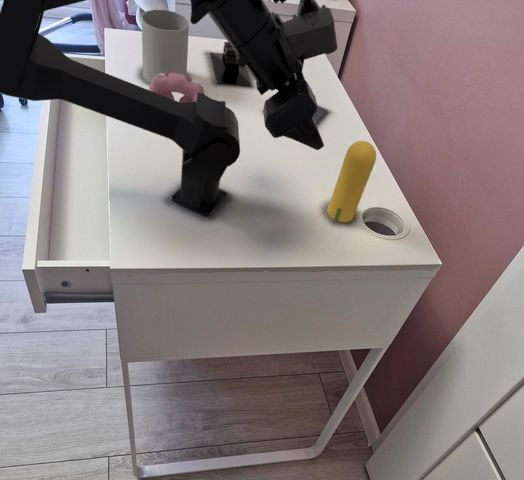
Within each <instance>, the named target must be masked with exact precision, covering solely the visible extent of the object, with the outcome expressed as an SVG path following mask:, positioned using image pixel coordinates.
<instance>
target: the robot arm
mask: <svg viewBox="0 0 524 480" xmlns="http://www.w3.org/2000/svg"><path fill="white" fill-rule="evenodd" d="M86 1H87V0H3V2H2V5H1V8H0V94H1V95H4V96H8V97H11V98H16V99H22V100H25V101H26V100H27V101H30V102H31V101H32V102H39V101H55V100H56V101H57V100H58V101H59V100H60V101H64V102H67V103H69V104H73V105H75V106H78V107H81V108H83V109H86V110H89V111H92V112H95V113H97V114H101V115H102V116H105V117H108V118H111V119H113V120H116V121H119V122H122V123H125V124H128V125H130V126H133V127H135V128H138V129H142V130H144V131H147V132H150V133H152V134H155V135H158V136H160V137H163V138H166V139H168V140H171V141H172V142H173V143H175V144H176V145H177V146H178V147H179V148H180V149H181V150H182V154H181V174H180V175H181V176H180V177H181V178H180V188H179V189H178V190H177V191H175V193H174V194H172V195H171V201H172V202H174V203H175V204H178V205H180V206H183V207H185V208H187V209H189V210H191V211H194V212H196V213H197V214H200V215H201V216H204V217H209V216H210V215H211V214H212V213H213V212H214V211H215V210H216V209H217V208H218V207H219V206H220V204H221V203H222V202H223V201H224V200H225V199H226V198H227V197H228V192H226V191H225V190H222V189H220V185H221V178H222V177H223V175H224V174H225V171H226V170H227V169H228V168H229V167H230V166H232V165H234V164H235V163H236V161H237V160H238V159H239V157H240V154H241V145H240V144H241V143H240V131H239V130H240V129H239V128H240V127H239V121H238V117H237V116H236V114H235V112H234V111H233V110H232V109H231V108H229V107H227V104H226V103H227V102H226V101H225V100H216V99H214V98H211V97H210V96H208V95H206V94H205V93H204V94H203V93H199V92H198V93H197V97H196V102H185V103H182V102H179V101H177V100H172V99H170V98H167V97H165V96H162V95H160V94H157V93H155V92H152V91H150V90H149V89H147V88H144V87H142V86H139V85H137V84H134V83H131V82H129V81H127V80H124V79H122V78H119V77H116V76H115V75H111V74H109V73H106V72H104V71H101V70H99V69H98V68H97V69H96V68H94V67H91V66H89V65H87V64H84V63H82V62H78V61H77V60H74V59H71V58H70V57H68V56H67V55H66V54H65V53H64V52H62V50H60V48H59V47H57V46H56V45H55V44H54V43H53V42H52V41H51V40H50V39H48V38H47V37H45V36H44V35H42V34H40V33H39V32H40V29H41V25H42V23H43V19H44V14H45V12H46V11H50V10H55V9H59V8H62V7H66V6H71V5H74V4H77V3H82V2H86ZM271 1H273V2H274V3H275V4H277V3H279V2H280V4H284V3H286V1H288V0H268V2H271ZM207 15H209V17H210V19H211V20H212V21H213V23H214V24H215V25H216V27H217V28H218V30H219V31H220V33H221V34H222V35H223V37H224V38H225V39H226V42H229V44H230V45H231V46H232V48H233V49H234V51H235V52H236V58H237V62H238V63H239V65H240V66H241V68H243V67H244V66H246V69H247V71H248V72H249V73H250V74H251V76H252V77H253V79H254V81H255V84H256V90H257V91H258V92H259V94H260V95H261V96H263V95H264V94H265V93H267V92H268V91H271V92H273V91H275V90H276V91H277V92H276V93H274V94H273V95H271V96H270V97H269V98H267V99H266V100H264V104H263V110H262V114H263V121H264V127H265V129H266V130H267V131H268V132H269V134H270V136H272V137H273V139H278V138H281V137H284V138H287V139H290V140H293V141H295V142H298V143H300V144H302V145H304V146H306V147H309V148H311V149H314V150H316V151H319V150H321V149H323V148H324V146H325V143H324V141H323V138H322V136H321V133H320V131H319V128H318V126H317V124H316V123H315V121H314V118H313V115H314V114H315V113H316V111H317V108H318V107H317V106H318V102H317V99H316V98H317V97H316V95H315V94H314V92H313V89H312V87H311V86H310V84H309V83H308V81H307V80H306V79H305V76H304V73H303V70H304V69H303V68H304V64H305V60H309V59H312V58H315V57H318V56H321V55H331V54H333V53H335V52H336V51H337V50H338V41H337V33H336V27H335V19H334V16H333V13H332V11H331V8H330V7H327V6H326V4H322V5H321V7H320V5H319V4H318V2H317V1H316V0H299V3H298V7H297V10H296V14H292V18H291V19H289V20H288V19H287V20H286V21H283V20H282V18H281V17H280V15H279V13H275V11H272V12H271V11H270V9H269V8H268V6H267V4H266V2H265V1H264V0H190V19H189V20H190V23H191V24H192V25H197V24H198V23H199V22H200V21H201V20H202V19H203V18H205V17H206V16H207Z"/></svg>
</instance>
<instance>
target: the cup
mask: <svg viewBox="0 0 524 480" xmlns="http://www.w3.org/2000/svg"><path fill="white" fill-rule="evenodd" d="M189 23H190V22H189V20H188V19H187V18H186V17H185V16H184V15H182V14H180V13H178V12H176V11H172V10H168V9H157V8H156V9H151V10H145V11H144V12H143V13H142V14H141V45H142V46H141V47H142V49H141V51H142V53H141V54H142V78H143V79H144V81H146V82H147V83H148V84H151V81H152V79H153V78H154V77H155V76H156V75H158V74H160V73H177V74H182V75H185V76H188V75H187V73H188V54H189V52H188V51H189V31H190V30H189V29H190V24H189Z"/></svg>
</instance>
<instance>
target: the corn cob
mask: <svg viewBox="0 0 524 480" xmlns="http://www.w3.org/2000/svg"><path fill="white" fill-rule="evenodd" d="M376 152H377V151H376V149H375V147H374V146H373V145H372V143H370V142H369V141H365V140H358V141H355V142H354V143H352V144H351V145H350V146H348V148H347V151H346V153H345V156H344V158H343V162H342V165H341V167H340V172H339V174H338V177H337V180H336V183H335V186H334V188H333V192H332V194H331V198H330V201H329V204H328V207H327V214H328V216H329V217H330V218H331V219H332V220H333V221H334V222H339V223H349V222H351V221H353V219H354V218H355V214H356V212H357V209H358V207H359V204H360V202H361V199H362V197H363V194H364V191H365V189H366V187H367V185H368V182H369V179H370V176H371V174H372V171H373V169H374V166H375V164H376V161H377V153H376Z"/></svg>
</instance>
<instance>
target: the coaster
mask: <svg viewBox="0 0 524 480" xmlns="http://www.w3.org/2000/svg"><path fill="white" fill-rule="evenodd" d="M317 107H318V108H317V111H316V113H315V114H314V115H313V118H314V121H315V123H316V125H317V124H318V123H319V122H320V121H321V120H322V118H323V117H324V116H325V115H326V114H327V113H328V109H326V108H324V107H322V106H319V105H317Z"/></svg>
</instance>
